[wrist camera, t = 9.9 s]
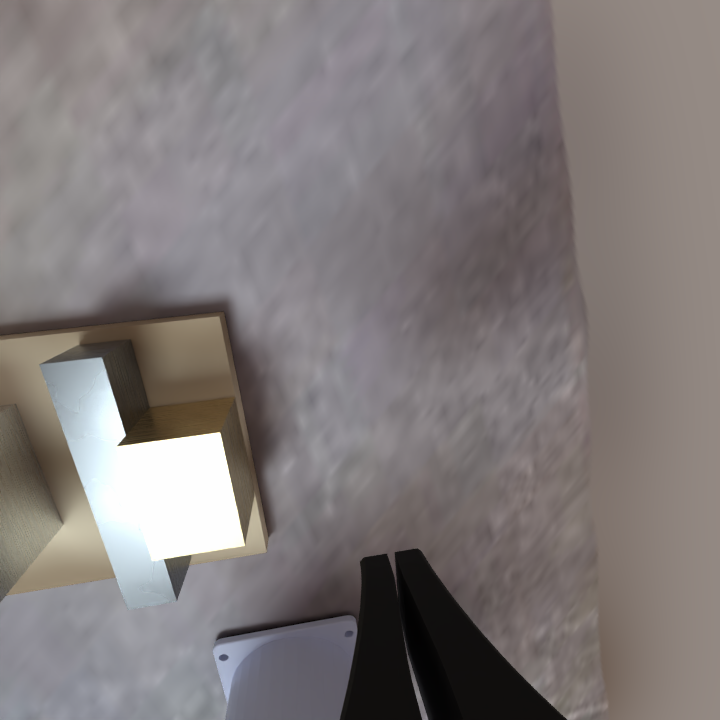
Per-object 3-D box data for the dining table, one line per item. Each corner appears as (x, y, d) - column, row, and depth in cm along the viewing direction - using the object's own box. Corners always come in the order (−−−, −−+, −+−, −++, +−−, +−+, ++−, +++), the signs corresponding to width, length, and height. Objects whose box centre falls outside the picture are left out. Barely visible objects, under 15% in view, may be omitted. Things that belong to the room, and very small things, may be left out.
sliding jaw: (265, 546, 20) (257, 603, 17) (148, 564, 19) (119, 627, 16) (221, 329, 16) (202, 351, 13) (77, 345, 16) (23, 372, 13)
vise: (268, 537, 21) (261, 595, 18) (-89, 595, 19) (-170, 671, 16) (224, 311, 17) (204, 331, 14) (-227, 360, 16) (-371, 395, 12)
